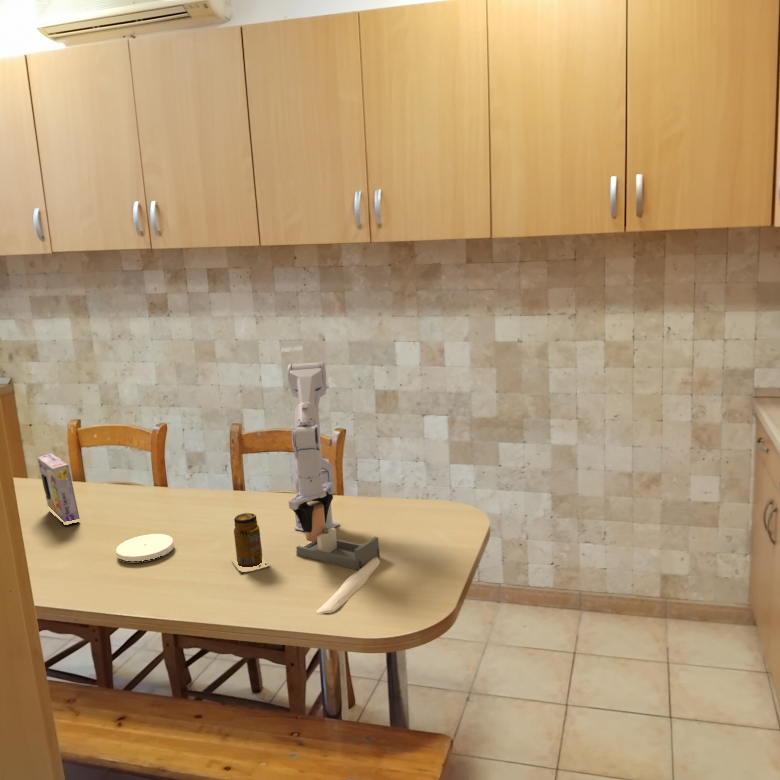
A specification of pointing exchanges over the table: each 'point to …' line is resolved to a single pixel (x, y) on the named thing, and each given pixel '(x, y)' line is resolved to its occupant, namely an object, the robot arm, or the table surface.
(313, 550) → the grey tray
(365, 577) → the spatula
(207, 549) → the table surface
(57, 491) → the cake pan box
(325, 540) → the pusher
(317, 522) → the jar
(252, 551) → the condiment
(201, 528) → the table surface
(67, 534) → the table surface
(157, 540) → the plastic lid
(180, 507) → the table surface
